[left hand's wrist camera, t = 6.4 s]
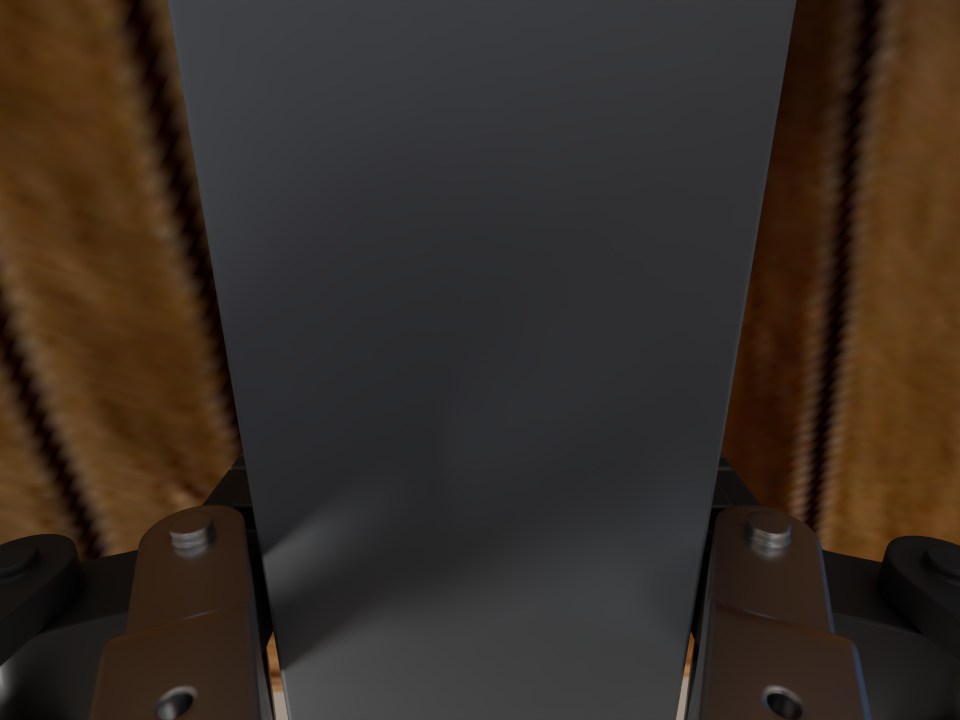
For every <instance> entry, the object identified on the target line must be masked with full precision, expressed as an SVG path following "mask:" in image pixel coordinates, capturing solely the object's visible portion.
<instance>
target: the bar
mask: <svg viewBox="0 0 960 720" xmlns="http://www.w3.org/2000/svg"><path fill="white" fill-rule="evenodd" d="M167 1H168V7H169V13H170V18H171V24H172V30H173V36H174V42H175V48H176V54H177V60H178V66H179V72H180V78H181V84H182V90H183V96H184V102H185V108H186V114H187V120H188V125H189V131H190V137H191V143H192V149H193V155H194V161H195V167H196V173H197V179H198V185H199V191H200V197H201V203H202V209H203V215H204V221H205V227H206V232H207V238H208V244H209V250H210V256H211V262H212V268H213V274H214V280H215V286H216V292H217V298H218V304H219V310H220V316H221V322H222V328H223V334H224V339H225V345H226V351H227V357H228V363H229V369H230V375H231V381H232V387H233V393H234V399H235V405H236V411H237V417H238V423H239V429H240V435H241V441H242V446H243V452H244V458H245V464H246V470H247V476H248V482H249V488H250V494H251V500H252V506H253V512H254V518H255V524H256V530H257V536H258V542H259V548H260V553H261V559H262V565H263V571H264V577H265V583H266V589H267V595H268V601H269V607H270V613H271V619H272V625H273V631H274V637H275V643H276V649H277V655H278V660H279V666H280V672H281V678H282V684H283V690H284V696H285V702H286V708H287V714H288V720H676V716H677V710H678V704H679V698H680V692H681V686H682V680H683V674H684V668H685V662H686V656H687V650H688V644H689V638H690V632H691V626H692V620H693V614H694V608H695V603H696V597H697V591H698V585H699V579H700V573H701V567H702V561H703V555H704V549H705V543H706V537H707V531H708V525H709V519H710V513H711V507H712V501H713V495H714V489H715V483H716V477H717V471H718V465H719V459H720V453H721V447H722V441H723V435H724V429H725V423H726V417H727V411H728V405H729V400H730V394H731V388H732V382H733V376H734V370H735V364H736V358H737V352H738V346H739V340H740V334H741V328H742V322H743V316H744V310H745V304H746V298H747V292H748V286H749V280H750V274H751V268H752V262H753V256H754V250H755V244H756V238H757V232H758V226H759V220H760V214H761V208H762V203H763V197H764V191H765V185H766V179H767V173H768V167H769V161H770V155H771V149H772V143H773V137H774V131H775V125H776V119H777V113H778V107H779V101H780V95H781V89H782V83H783V77H784V71H785V65H786V59H787V53H788V47H789V41H790V35H791V29H792V23H793V17H794V11H795V6H796V0H167Z"/></svg>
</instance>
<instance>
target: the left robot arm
mask: <svg viewBox="0 0 960 720" xmlns="http://www.w3.org/2000/svg"><path fill="white" fill-rule="evenodd" d="M272 632H273V625H272V619H271V613H270V607H269V601H268V595H267V589H266V583H265V577H264V571H263V565H262V559H261V553H260V548H259V542H258V536H257V530H256V524H255V518H254V512H253V506H252V500H251V494H250V488H249V482H248V476H247V470H246V464H245V458H244V452H242V453H241V457H238V459H237V460H236V461H235V463H234V464H233V465H232V469H231V470H229V471H228V472H227V473H226V475H225V476H224V477H223V479H222V480H221V481H220V483H219V484H218V485H217V487H216V488H215V489H214V491H213V492H212V493H211V495H210V496H209V497H208V499H207V500H206V501H205V503H204V504H203V505H202V506H197V507H192V508H188V509H185V510H182V511H179V512H176V513H174V514H172V515H169V516H167V517H166V518H164V519H162V520H160V521H159V522H157V523H156V524H154V525H153V526H152V527H151V528H150V529H149V530H148V531H147V532H146V533H145V534H144V535H143V537H142V539H141V540H140V543H139V547H138V550H135V551H131V552H127V553H122V554H117V555H112V556H107V557H102V558H97V559H92V560H87V561H82V562H80V559H79V556H78V552H77V549H76V546H75V544H74V542H73V541H72V540H71V539H70V538H68V537H66V536H62V535H58V534H40V535H34V536H28V537H24V538H20V539H16V540H13V541H10V542H7V543H4V544H2V545H0V720H276V715H275V707H274V698H273V690H272V682H271V674H270V666H269V659H268V653H267V644H268V642H269V639H270V637H271V635H272ZM691 633H692V635H693V637H694V640H695V641H694V647H693V653H692V659H691V666H690V674H689V682H688V690H687V698H686V707H685V715H684V720H960V546H959V545H956V544H954V543H950V542H947V541H944V540H940V539H936V538H931V537H924V536H903V537H898V538H896V539H894V540H892V541H891V542H890V543H889V544H888V546H887V548H886V552H885V555H884V558H883V561H882V562H877V561H872V560H867V559H862V558H857V557H852V556H847V555H843V554H838V553H833V552H829V551H826V550H823V549H822V547H821V543H820V540H819V539H818V537H817V535H816V534H815V533H814V532H813V531H812V530H811V529H810V528H809V527H808V526H807V525H806V524H804V523H803V522H801V521H800V520H798V519H796V518H794V517H793V516H791V515H788V514H786V513H784V512H781V511H778V510H775V509H772V508H768V507H763V506H761V504H760V503H759V502H758V500H757V499H756V498H755V497H754V495H753V494H752V493H751V491H750V490H749V489H748V487H747V486H746V485H745V483H744V482H743V481H742V479H741V478H740V477H739V475H738V474H737V473H736V471H733V470H732V466H731V465H730V464H729V462H728V461H727V460H726V458H723V454H722V453H720V459H719V465H718V471H717V477H716V483H715V489H714V495H713V501H712V507H711V513H710V519H709V525H708V531H707V537H706V543H705V549H704V555H703V561H702V567H701V573H700V579H699V585H698V591H697V597H696V603H695V608H694V614H693V620H692V626H691Z"/></svg>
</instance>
